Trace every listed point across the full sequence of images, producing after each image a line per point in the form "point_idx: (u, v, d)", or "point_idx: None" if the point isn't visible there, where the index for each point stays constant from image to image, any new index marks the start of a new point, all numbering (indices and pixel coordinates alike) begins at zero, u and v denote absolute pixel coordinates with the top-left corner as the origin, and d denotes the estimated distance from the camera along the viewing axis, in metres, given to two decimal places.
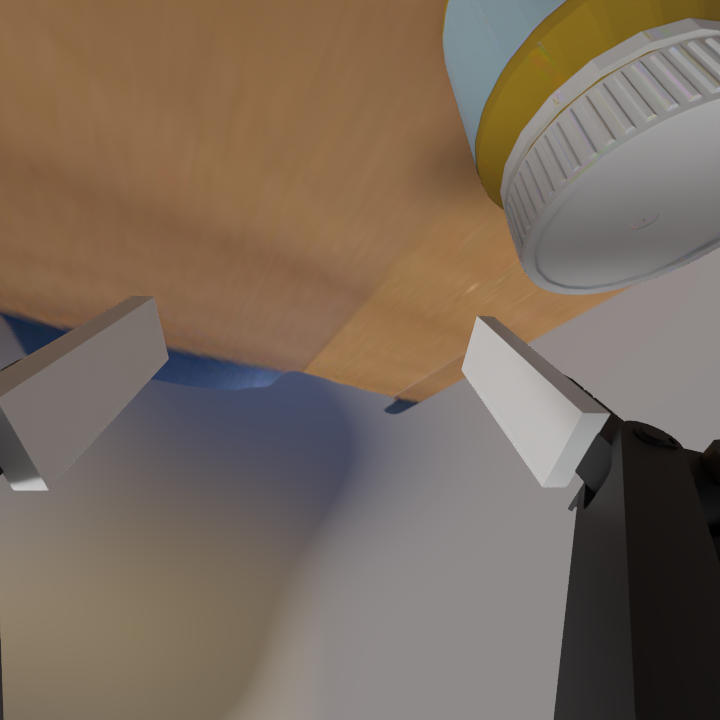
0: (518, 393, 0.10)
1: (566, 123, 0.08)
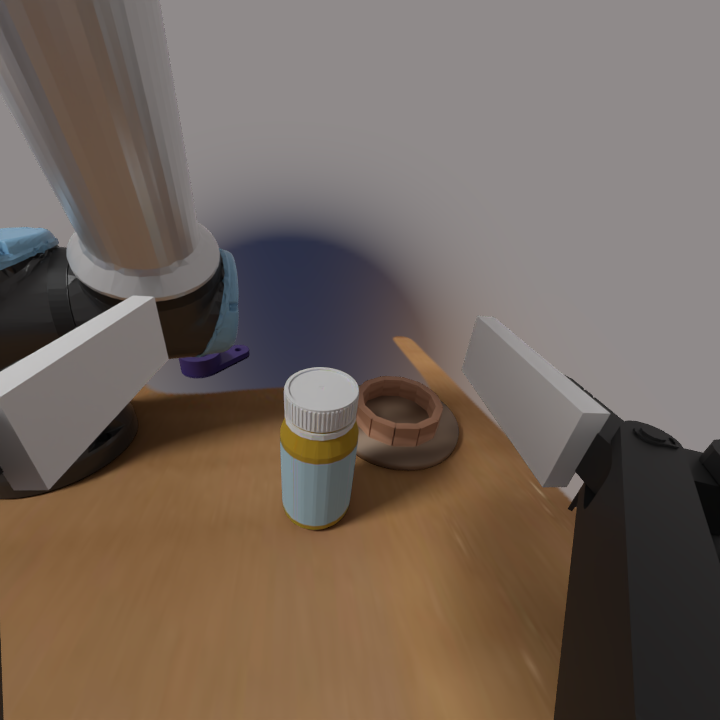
0: (518, 393, 0.10)
1: (284, 404, 0.26)
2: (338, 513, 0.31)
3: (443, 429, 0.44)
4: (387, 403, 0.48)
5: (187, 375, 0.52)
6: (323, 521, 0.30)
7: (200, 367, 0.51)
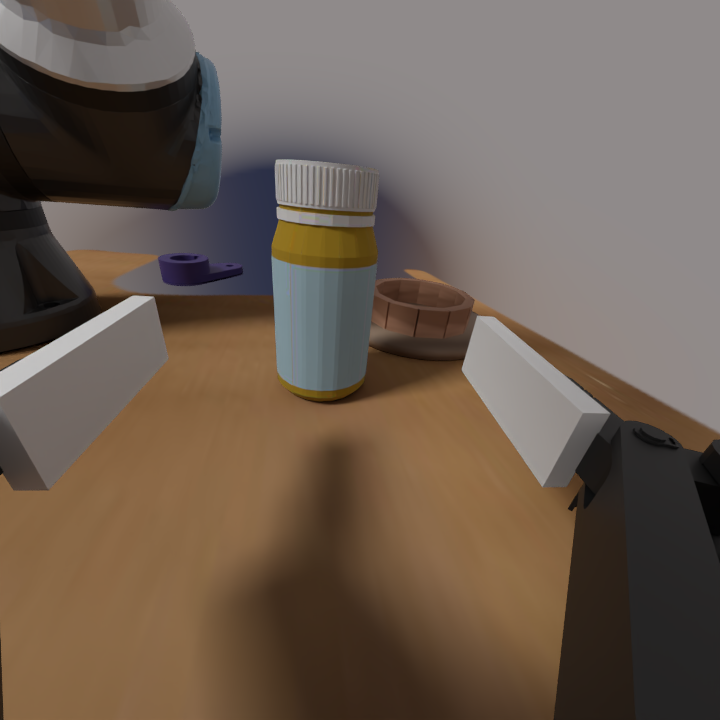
0: (518, 393, 0.10)
1: None
2: (352, 377, 0.23)
3: None
4: None
5: (169, 282, 0.44)
6: (332, 383, 0.22)
7: (185, 271, 0.43)
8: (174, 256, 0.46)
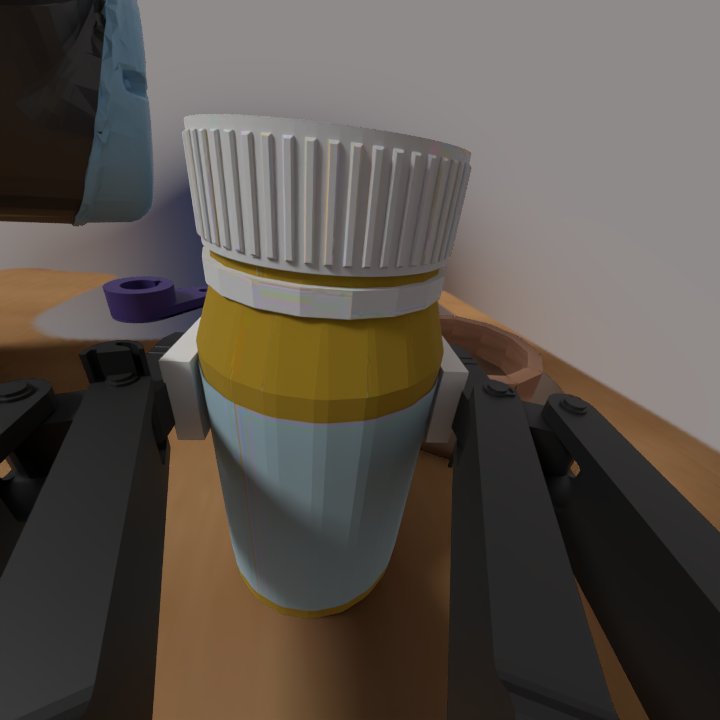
0: None
1: None
2: (378, 570, 0.12)
3: (539, 394, 0.25)
4: None
5: (119, 318, 0.33)
6: (340, 597, 0.11)
7: (139, 303, 0.32)
8: (127, 282, 0.34)
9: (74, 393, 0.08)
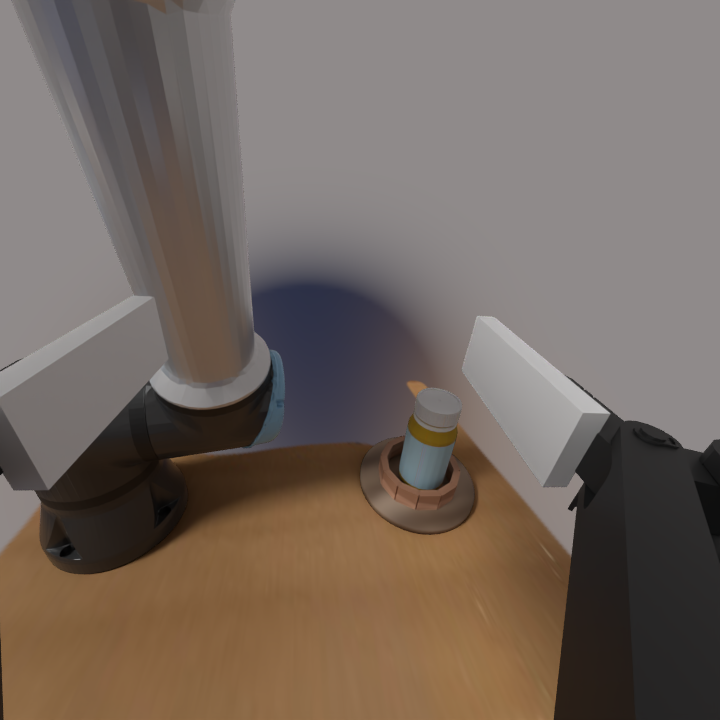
0: (518, 393, 0.10)
1: (416, 411, 0.43)
2: (441, 481, 0.48)
3: (460, 489, 0.49)
4: None
5: None
6: (433, 486, 0.47)
7: None
8: None
9: None
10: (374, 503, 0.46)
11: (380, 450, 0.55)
